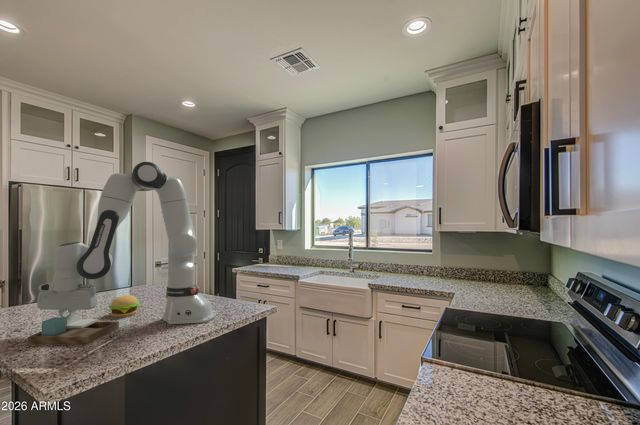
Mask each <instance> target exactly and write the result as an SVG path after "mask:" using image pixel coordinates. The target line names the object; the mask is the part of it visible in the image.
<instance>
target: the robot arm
mask: <svg viewBox="0 0 640 425" xmlns="http://www.w3.org/2000/svg"><path fill="white" fill-rule="evenodd" d="M153 190H154V191H155V192H156V193H157V195H158V200H159V203H160V208H161V213H162V214H161V215H162V217H163V223H164V228H165V231H166V236H167V239H168V242H167V243H168V245H167V246H168V247H167V248H168V249H167V252H168V254H167V255H168V256H167V257H168V258H167V261H168V262H167V264H168V265H167V268H168V270H167V271H168V272H167V286H166V292H165V293H166V294H165V297H166V303H165V310H164V313H163V316H162V321H164V322H166V323H167V325H179V324H180V325H183V324H184V325H186V324H199V323H200V324H201V323H206V322H207V323H208V322H210V321H212V320H213V319H215V318H216V317H217V311H216V310H212V309H213V307H212V303H211V301H210V300H209V299H208V298H206V297H204V296H203V295H202V294H201V293H199V290H200V289H201V286H199V285H198V286H197V285H196V283H195V279H196V278H195V277H196V266H195V252H196V250H197V247H198V241H197V240H198V239H197V235H196V231H195V228H194V223H193V220H192V216H191V212H190V208H189V203H188V202H189V201H188V198H187V193H186V190H185V187H184V185H183V183H182V181H181V179H179V177H178V178H177V177H174V176H173V177H172V176H167V175H166V174H165V172H164V171H163V170H162V169H161V168H160V166H158V165H157V164H156V163H154V162H151V161H142V162H139V163H137V164H136V165H135V166H134V167H133V169H132V172H131V173H121V172H117V173H113V174H111V175H110V176H109V177H108V179H107V181H106V183H105V185H104V186H103V189H102V192H101V193H100V194H101V195H100V198H99V201H98V206H97V218H96V227H95V229H94V231H93V236H92V238H91V241H90V244H89V245H88V244H85V243H83V242H82V241H73V242H68V243H67V242H66V243H62V244H60V245H59V246H57V247H56V249H55V252H54V258H53V269H54V275H53V278H52V281H51V280H50V282H46V283H43V284H39V286H38V291H39V292H38V295H37V300H36V305H37V308H38V310H48V311H49V310H50V311H51V310H52V311H53V310H58V314H59V316H60V317H66V319H67V318H70V317H73V316H75V315H74V314H75V313H76V312H77V310H79V311H81V310H83V311H85V310H86V311H87V310H88V311H89V310H92V309H94V308H96V307H97V305H98V300H97V288H96V287H95V286H94V285H93V284H84V279H86V280H97V279H101V278H103V277H104V276H106V275H107V274H109V273H108V272H109V271H110V269H111V267H112V266H113V263H114V258H113V255H112V254H111V253H110V251H111V250H110V249H111V246H112V243H113V240H114V237H115V233H116V231H117V229H118V227H120V225H121V224H122V222H124V221H125V219H126V218H127V217H128V214H129V212H130V210H131V207H132V205H133V201H134V198H135V195H136V193H137V192H140V191H141V192H143V191H144V192H149V191H153ZM67 312H68V314H67Z"/></svg>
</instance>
